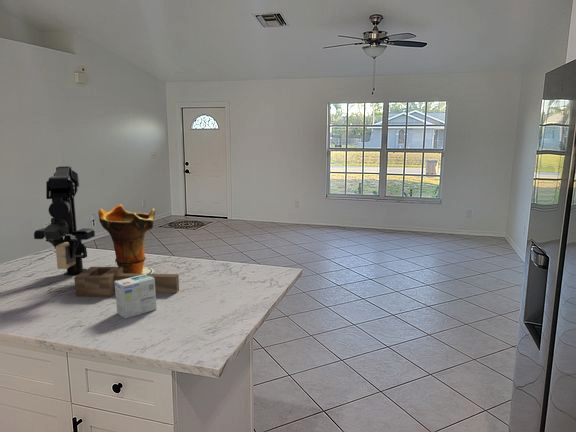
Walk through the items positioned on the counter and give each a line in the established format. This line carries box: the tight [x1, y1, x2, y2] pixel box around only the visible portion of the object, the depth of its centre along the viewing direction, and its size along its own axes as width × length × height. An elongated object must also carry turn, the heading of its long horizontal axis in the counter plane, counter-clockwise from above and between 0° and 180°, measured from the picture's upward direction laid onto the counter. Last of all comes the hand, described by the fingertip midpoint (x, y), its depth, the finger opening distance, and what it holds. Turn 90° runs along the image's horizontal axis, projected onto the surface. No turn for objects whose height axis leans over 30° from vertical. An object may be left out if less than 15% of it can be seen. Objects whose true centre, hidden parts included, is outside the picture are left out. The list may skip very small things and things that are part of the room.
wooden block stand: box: [73, 266, 180, 298], centre depth 152 cm, size 12×34×7 cm, turn 88°
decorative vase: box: [98, 203, 156, 274], centre depth 170 cm, size 21×23×28 cm
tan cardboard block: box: [54, 242, 76, 270], centre depth 148 cm, size 6×4×8 cm, turn 177°
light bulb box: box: [114, 274, 158, 320], centre depth 134 cm, size 11×7×11 cm, turn 135°
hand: (66, 257), depth 148 cm, fingers closed on tan cardboard block, 3 cm apart
